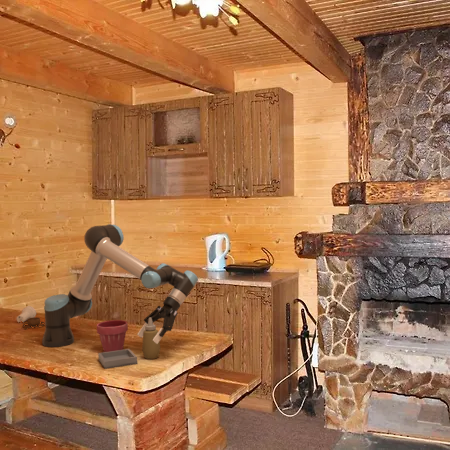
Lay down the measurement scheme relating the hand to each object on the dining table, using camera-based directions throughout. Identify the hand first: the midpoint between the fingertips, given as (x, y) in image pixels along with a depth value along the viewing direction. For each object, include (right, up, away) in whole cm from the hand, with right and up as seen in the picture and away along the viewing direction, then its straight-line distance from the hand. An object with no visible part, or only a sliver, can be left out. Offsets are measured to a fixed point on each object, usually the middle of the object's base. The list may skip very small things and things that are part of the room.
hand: (146, 339), depth 235 cm
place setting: (-71, -8, +65) cm, 97 cm away
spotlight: (-84, -7, +81) cm, 117 cm away
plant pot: (-18, -9, +15) cm, 25 cm away
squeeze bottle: (+2, -9, +2) cm, 9 cm away
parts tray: (-12, -9, -3) cm, 16 cm away
